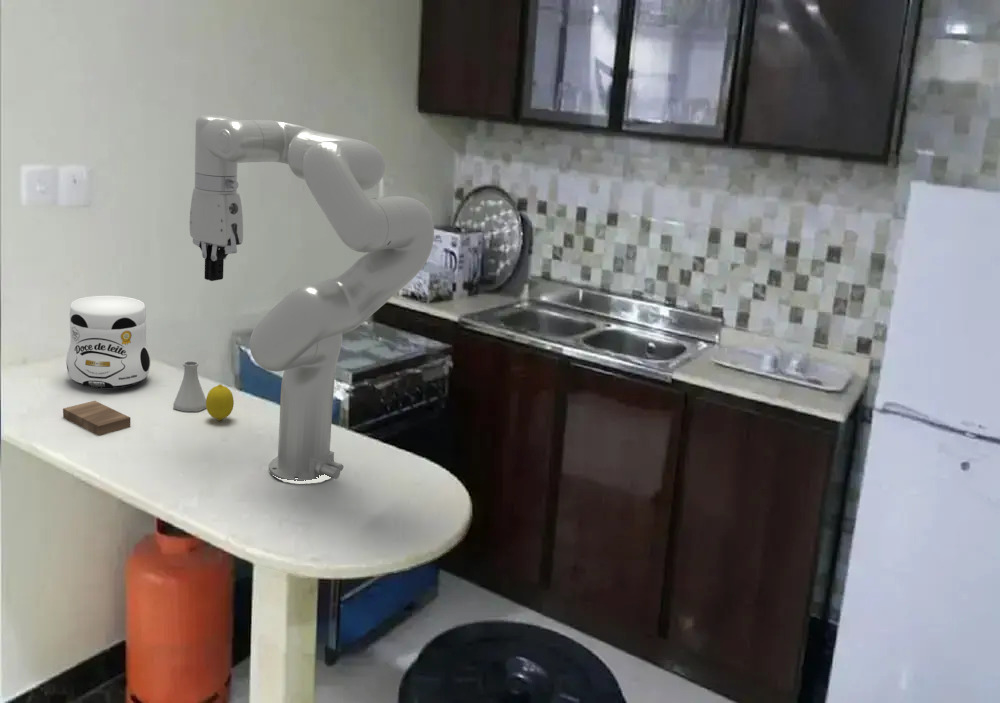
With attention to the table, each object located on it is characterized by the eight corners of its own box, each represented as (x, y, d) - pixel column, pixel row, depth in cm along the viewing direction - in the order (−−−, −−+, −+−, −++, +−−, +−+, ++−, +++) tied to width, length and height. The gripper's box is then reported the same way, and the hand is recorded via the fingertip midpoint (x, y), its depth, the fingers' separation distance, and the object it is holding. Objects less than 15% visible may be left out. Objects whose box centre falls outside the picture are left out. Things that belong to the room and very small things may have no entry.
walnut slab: (130, 417, 186) (94, 400, 192) (98, 426, 180) (63, 408, 186) (130, 429, 187) (95, 411, 193) (98, 438, 181) (63, 420, 187)
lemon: (200, 421, 193) (200, 385, 190) (216, 413, 198) (217, 378, 196) (222, 427, 191) (223, 391, 189) (238, 419, 196) (239, 383, 194)
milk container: (83, 399, 197) (81, 318, 192) (55, 374, 209) (53, 297, 204) (162, 387, 209) (163, 310, 204) (132, 364, 221) (132, 291, 215)
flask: (201, 414, 197) (201, 370, 194) (167, 410, 197) (167, 366, 194) (212, 402, 204) (213, 359, 201) (179, 399, 204) (180, 355, 201)
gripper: (259, 189, 173) (256, 284, 178) (203, 176, 180) (202, 269, 185) (229, 191, 166) (226, 290, 172) (172, 178, 173) (171, 273, 179)
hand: (213, 279), depth 178 cm, fingers closed
